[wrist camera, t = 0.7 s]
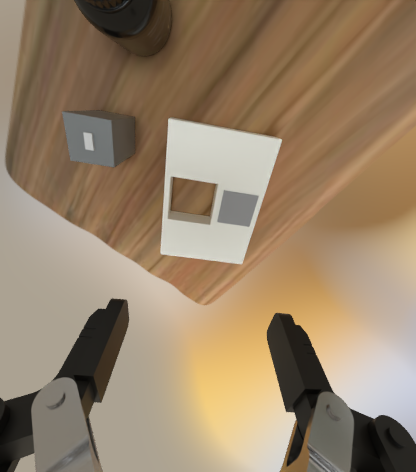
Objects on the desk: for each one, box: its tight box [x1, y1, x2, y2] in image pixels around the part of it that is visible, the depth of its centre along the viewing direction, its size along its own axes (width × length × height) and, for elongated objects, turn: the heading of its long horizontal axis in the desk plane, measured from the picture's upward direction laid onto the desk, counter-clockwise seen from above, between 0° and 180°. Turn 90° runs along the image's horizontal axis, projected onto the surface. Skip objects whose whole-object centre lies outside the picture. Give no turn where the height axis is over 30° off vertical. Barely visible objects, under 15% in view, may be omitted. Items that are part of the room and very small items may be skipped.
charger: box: [62, 110, 135, 167], centre depth 24 cm, size 4×4×8 cm
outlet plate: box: [161, 117, 282, 264], centre depth 32 cm, size 20×14×3 cm
